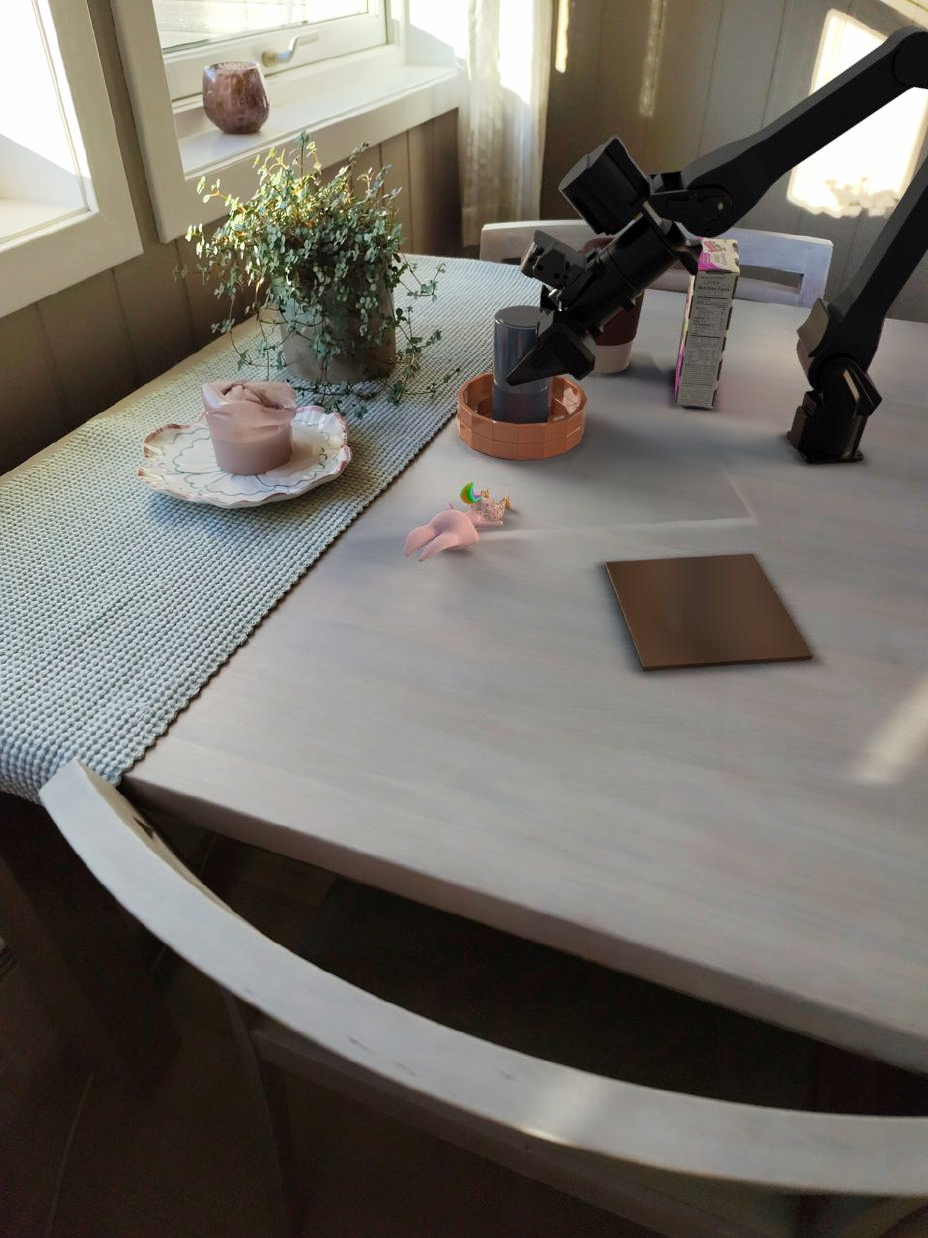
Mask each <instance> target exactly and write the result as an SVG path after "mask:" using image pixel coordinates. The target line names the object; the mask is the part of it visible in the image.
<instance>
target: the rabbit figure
mask: <svg viewBox="0 0 928 1238" xmlns="http://www.w3.org/2000/svg"><path fill="white" fill-rule="evenodd" d="M474 484H475V482H474V481H473V482H472V481H471V482H469V483H466V484H465V485H464V486H463V487H462V489H461V491H460V494H459V497H460V499H461V501H462V502H463V503H464V504H466V509H467V510H466V511H465V512H463V511H460V510H457V509H455V508H454V505H453V504H452V503H451V502H448V503H447V504H446V508H447V510H444V511H441V512H439V513H438V514H436V515H434V516H433V518H431V520H430V522H429V523H428V524H426V525H420V526H418V527H416V528H414V529H413V530H412V531H411V532H409V534H408V535H407V537H406V539H405V542H404V543H405V544H404V556H405V557H410V556H411V555H413V554H414V553H415V552H416V551H418V550H420V549H422V547H424V546H425V548H424V550H423V551H422V553H421V554H420V556H419V558H418V562H419V563H420V562H424V561H426V560H429V559H430V558H431V557H433V556H434V555H436V554H438V553H439V552H441V551H445V550H446V551H449V552H450V551H452V552H453V551H458V550H462V549H465V548H468V547H471V546H473V545H475V544H477V543H478V542H479V539H480V538H479V537H480V536H479V533H478V531H477V528H494V527H495V528H496V527H502V526H503V524H504V523H503V521H502V520H501V519H502V517H503V516H504V513H505V508H506V509H509V510H511V509H512V508H511V507H512V505H511V504H512V503H511V499H510V496H511V495H510V493H509V494H508V496H507V497H502V499H500V500H497V501H496V500H494V499H493V498H490V492H489V489H490V486H488V487H487V489H486V491H485V490H484V489H482V490H481V491H480V493H479V492H478V491H476V490H474Z"/></svg>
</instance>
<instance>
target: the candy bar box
mask: <svg viewBox="0 0 928 1238" xmlns="http://www.w3.org/2000/svg"><path fill="white" fill-rule="evenodd" d="M695 239H700V240H701V241H702V245H703V250H702V252H701V255H700V258H699V265H698V274H697V275H695V276H692V275H690V274H689V280H688V286H687V292H686V299H685V305H684V311H683V318H682V324H681V331H680V337H679V345H678V350H677V351H678V352H677V357H676V358H677V359H676V365H675V382H674V383H675V385H674V386H675V387H674V404H679V405H681V407H682V408H691V409H706V410H714V408H715V403H716V398H717V392H718V387H719V384H720V383H719V382H720V377H721V372H722V367H723V362H724V357H725V350H726V345H727V341H728V336H729V330H730V326H731V318H732V314H733V311H734V309H733V308H734V303H735V298H736V292H737V287H738V282H739V278H740V273H741V272H740V259H739V258H740V257H739V248H738V247H739V246H738V240H737V239H733V238H732V239H730V238H720V237H714V238H704V237H695Z"/></svg>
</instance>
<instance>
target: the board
mask: <svg viewBox="0 0 928 1238" xmlns="http://www.w3.org/2000/svg"><path fill="white" fill-rule="evenodd" d="M604 568H605V571H606V574H607V577H608V580H609V582H610V585H611V587H612V588H611V589H612V590H613V594H614V596H615V599H616V601H617V604H618V607H619V610H620V612H621V615H622V617H623V621H624V624H625V626H626V628H627V631H628V634H629V637H630V640H631V643H632V645H633V648H634V651H635V653H636V656H637V658H638V661H639V664H640V667H641V670H642V671H643V672H645V671H646V672H647V671H663V670H676V669H678V670H679V669H689V668H691V669H692V668H707V667H721V666H722V667H723V666H735V665H738V666H739V665H752V664H764V663H765V664H766V663H781V662H795V661H810V660H813V657H814V654H813V653H812V651H811V649H810V647H809V646H808V644H807V642H806V641H805V639H804V637H803V635H802V634H801V632H800V630H799V629H798V627H797V626H796V623H795V622H794V620H793V619H792V616H790V614H789V612H788V610H787V609H786V607H785V605H784V604H783V602H782V600H781V598H780V597H779V595H778V594H777V592H776V590H775V589H774V587H773V584H772V583H771V582H770V580H769V578H768V576H767V574H766V573H765V571H764V569H763V568H762V567H761V565H760V563H759V561H758V560H757V558H756V556H755V555H754V553H741V554H740V553H737V554H722V555H721V554H719V555H704V556H687V557H672V558H671V557H670V558H669V557H668V558H653V559H651V558H650V559H637V560H636V559H635V560H618V561H605V562H604Z"/></svg>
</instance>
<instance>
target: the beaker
mask: <svg viewBox="0 0 928 1238" xmlns="http://www.w3.org/2000/svg"><path fill="white" fill-rule="evenodd" d="M551 312H552V311H550V310H548V309H545V308H542V307H540V306H536V305H511V306H507V307H504V308H501V309H499V310H498V311H496V312H495V314H494V316H493V345H492V347H493V348H492V349H493V350H492V351H493V352H492V356H493V357H492V371H493V387H492V420H494V421H499V422H506V423H513V424H536V423H546V422H550V414H551V400H552V386H553V377H548V378H544V379H540V380H536V381H532V382H528V383H524V384H520V385H516V386H510V385H509V384H508V383H507V382H506V380H505V379H506V376H507V375H508V374H509V373H510V371H511V370H512V369H513V368H514V366H515V365H516V364H517V363H518V362H519V360H520V359H521V358H522V357H523V356H524V355H525V353H526V352H527V351H528V350H529V349H530V347H531V346H532V345H533V344H534V343H535V333H536V325H537V321H539V322H540V323H542V322H543V320H544V319H545V318H546V317H547V316H548V315H549V314H550V313H551Z"/></svg>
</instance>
